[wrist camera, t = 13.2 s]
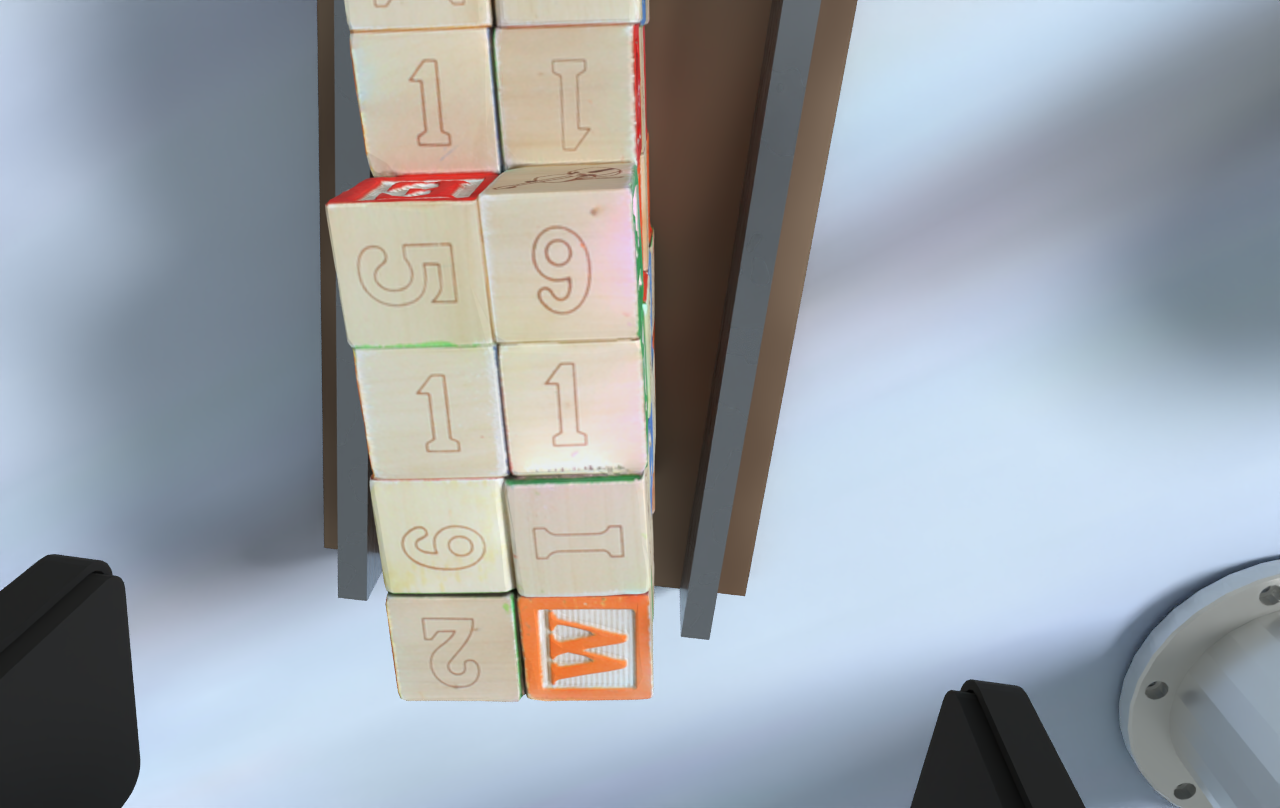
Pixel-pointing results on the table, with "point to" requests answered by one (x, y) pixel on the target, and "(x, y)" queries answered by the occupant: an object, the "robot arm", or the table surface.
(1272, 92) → the table surface
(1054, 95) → the table surface
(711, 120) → the track
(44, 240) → the table surface
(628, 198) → the stack of blocks
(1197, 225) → the table surface
